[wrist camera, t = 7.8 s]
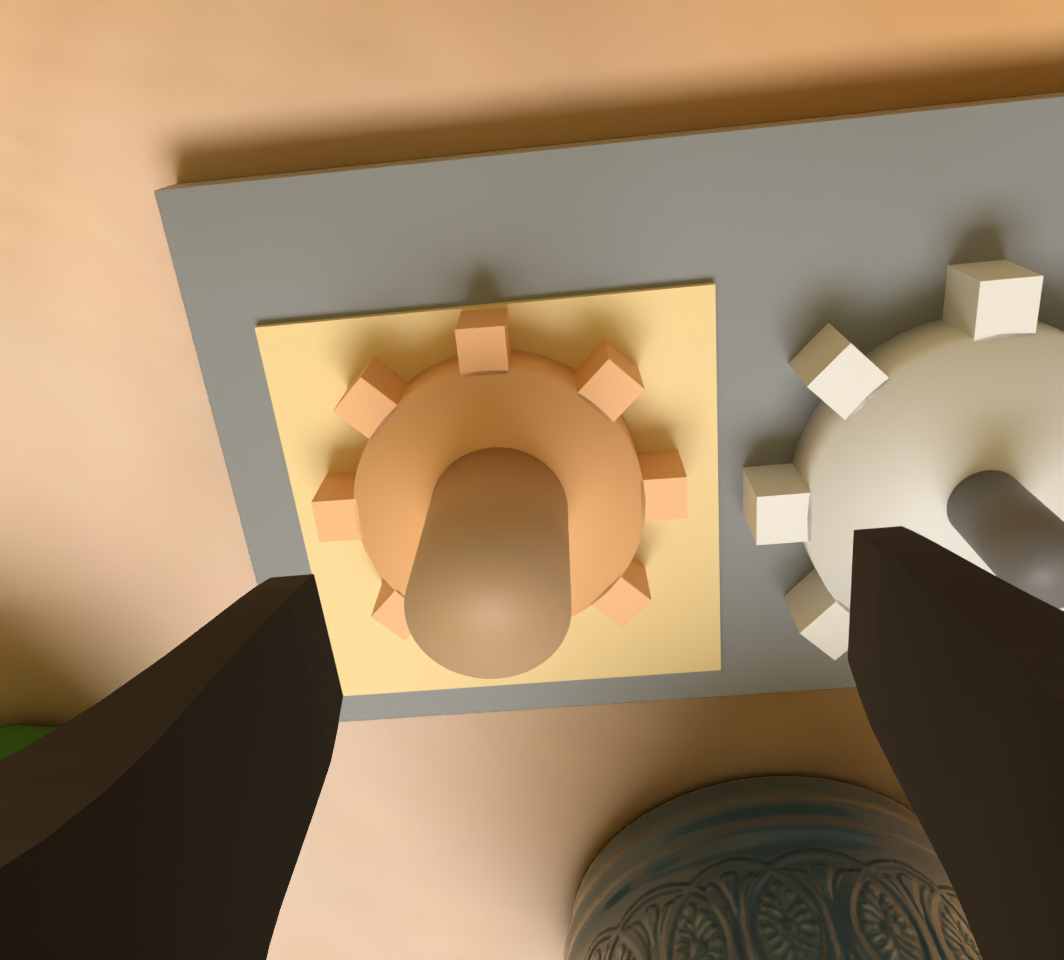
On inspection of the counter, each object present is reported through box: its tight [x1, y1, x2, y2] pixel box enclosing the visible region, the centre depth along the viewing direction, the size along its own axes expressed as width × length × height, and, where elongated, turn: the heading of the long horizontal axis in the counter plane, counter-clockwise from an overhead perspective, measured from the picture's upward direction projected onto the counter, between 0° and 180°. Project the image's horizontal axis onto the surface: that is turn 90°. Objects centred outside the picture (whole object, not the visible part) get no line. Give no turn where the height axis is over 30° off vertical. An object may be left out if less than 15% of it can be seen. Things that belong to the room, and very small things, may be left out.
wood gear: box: [311, 308, 688, 679], centre depth 19 cm, size 8×8×6 cm
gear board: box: [154, 92, 1064, 722], centre depth 19 cm, size 22×14×6 cm, turn 96°
